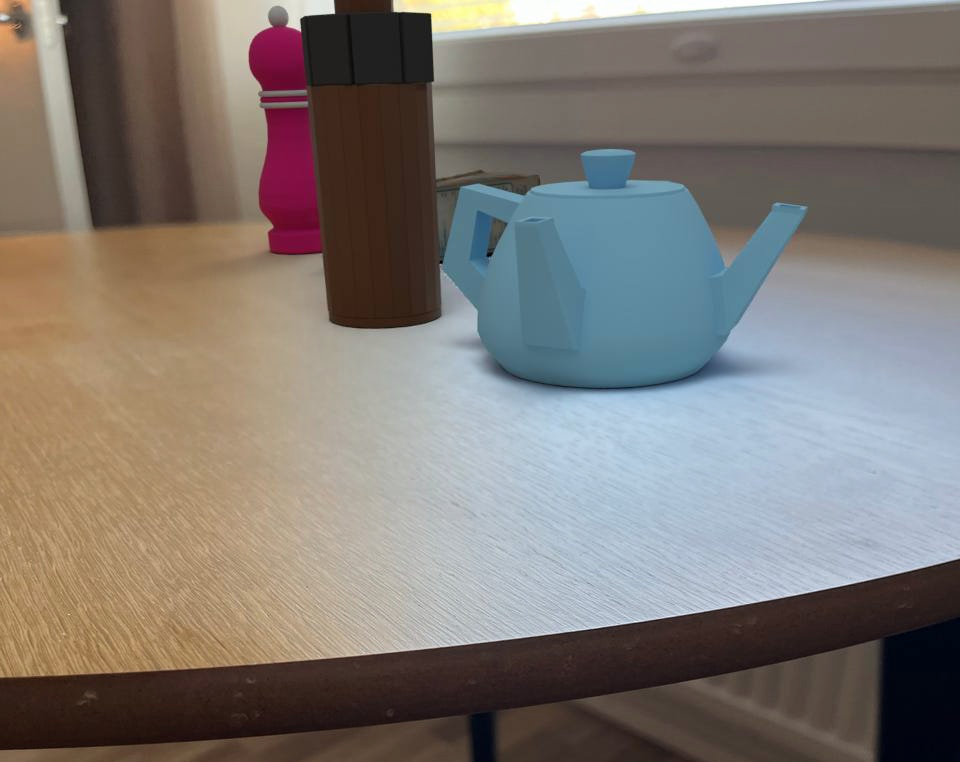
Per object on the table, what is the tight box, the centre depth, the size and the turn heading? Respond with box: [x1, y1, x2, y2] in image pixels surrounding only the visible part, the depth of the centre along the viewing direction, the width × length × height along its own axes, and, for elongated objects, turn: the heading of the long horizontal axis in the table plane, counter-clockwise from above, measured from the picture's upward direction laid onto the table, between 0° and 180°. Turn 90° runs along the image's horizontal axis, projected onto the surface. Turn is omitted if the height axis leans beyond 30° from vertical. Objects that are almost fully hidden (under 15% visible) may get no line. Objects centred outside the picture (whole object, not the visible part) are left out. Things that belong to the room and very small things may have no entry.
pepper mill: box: [248, 5, 322, 255], centre depth 94 cm, size 7×7×20 cm
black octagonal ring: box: [299, 11, 435, 86], centre depth 63 cm, size 8×8×4 cm
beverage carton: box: [436, 169, 541, 262], centre depth 91 cm, size 8×19×7 cm, turn 125°
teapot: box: [441, 148, 809, 389], centre depth 55 cm, size 15×15×11 cm
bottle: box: [306, 0, 442, 329], centre depth 66 cm, size 8×8×19 cm
